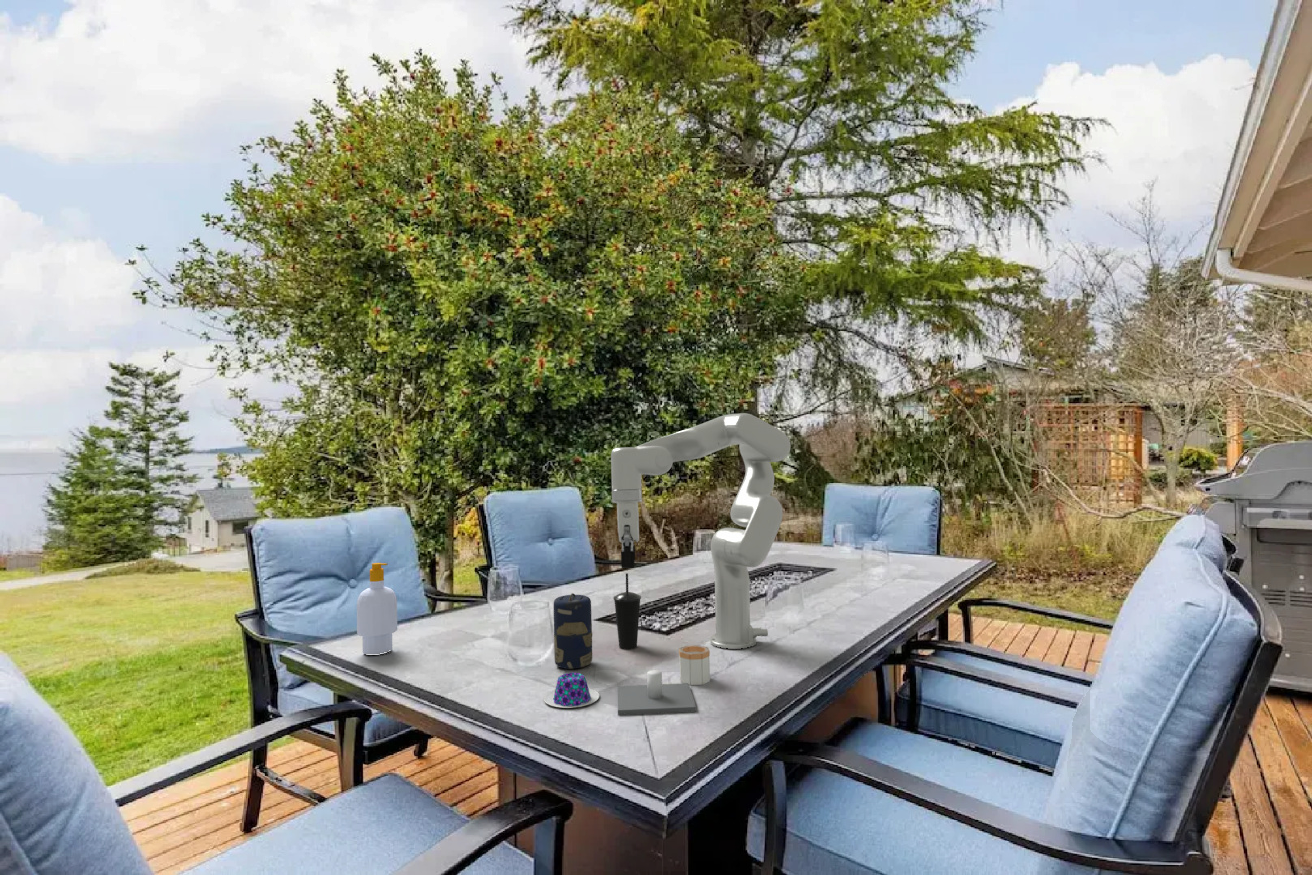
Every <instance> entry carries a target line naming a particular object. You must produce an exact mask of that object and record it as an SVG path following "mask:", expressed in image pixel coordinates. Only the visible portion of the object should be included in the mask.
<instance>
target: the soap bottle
mask: <svg viewBox="0 0 1312 875" xmlns="http://www.w3.org/2000/svg"><path fill="white" fill-rule="evenodd" d="M382 566H388V563H382V562H372V563H371V568H370V569H369V587H368V588H365V589H364V590H363V591H361V592H360V593H359V595H358V598H357V600H356V634H357V636H360V637H362V654H363V653H364V654H380V653H384V652H388V651H389V650H392V651H393V634H394V633H395V632H397V631H398V599H397V595H396V593H395V591H394V590H393V589H392V588H390V587H388V586H385V574H384V573H385V572H384V570H385V569H384V568H383V567H382ZM364 654H363V655H364Z"/></svg>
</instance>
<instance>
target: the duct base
mask: <svg viewBox="0 0 1312 875" xmlns="http://www.w3.org/2000/svg"><path fill="white" fill-rule="evenodd" d="M646 677H647V678H646V681H647V682H646V684H636V685H635V684H634V685H633V684H632V685H618V686H617V716H626V715H627V716H628V715H631V716H632V715H650V714H654V715H655V714H674V713H675V714H679V713H696V712H697V707H696V704H695V699H694V695H693V693H692V690H691V688H690V685H689V684H688V683H664V684H663V672H662V671H661V670H658V669H653V670H648V671H647V673H646Z"/></svg>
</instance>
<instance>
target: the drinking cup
mask: <svg viewBox="0 0 1312 875" xmlns="http://www.w3.org/2000/svg"><path fill="white" fill-rule="evenodd" d="M612 599H613V601H614V609H615V617H616V628H617V637H618V647H619V649H622V650H634V649H636V648H637V647H638V637H639V636H638V633H639V622H640V621H639V620H640V608H641V600H642V595H640V594H637V593H636V592H633V591H632V592H631V591H629V573H625V591H623V592H620V593H618V594H616V595H614V596H613V598H612Z"/></svg>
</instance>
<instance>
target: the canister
mask: <svg viewBox="0 0 1312 875" xmlns="http://www.w3.org/2000/svg"><path fill="white" fill-rule="evenodd" d="M592 624H593V622H592V600H591V598H590V597H589V596H587V595H584V594H575V593H571V594H565V595H561V596H558V597H556V598H555V599H554V600H553V644H554V645H553V646H554V648H553V650H554V652H553V654H554V655H553V656H554V657H553V658H554V664H555V665H556V666H557V667H559V668H561V669H569V670H571V669H581V668H584V667H587V666H589V665H591V663H592V661H593V625H592Z"/></svg>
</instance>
